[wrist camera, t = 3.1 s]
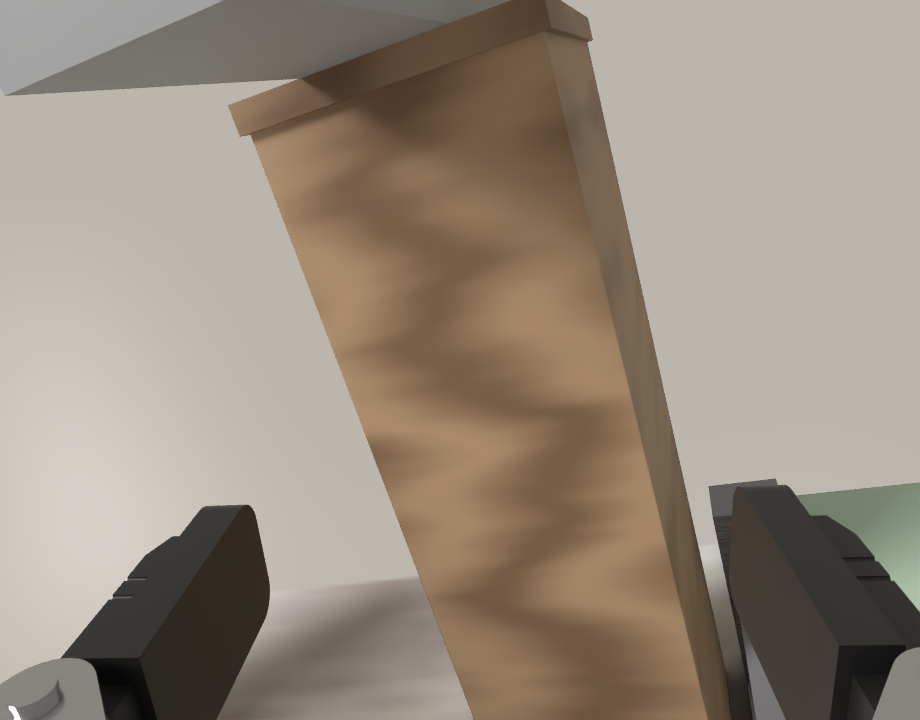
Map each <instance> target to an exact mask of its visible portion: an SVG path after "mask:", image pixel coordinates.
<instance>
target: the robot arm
mask: <svg viewBox="0 0 920 720" xmlns="http://www.w3.org/2000/svg"><path fill="white" fill-rule="evenodd" d="M729 581H730V588H731V594H732V598H733V602H734V605H735V608H736V610H737V613H738V615H739V617H740V619H741V621H742V624H743V626H744V628H745V630H746V633H747V635H748V637H749V639H750V641H751V644H752V646H753V648H754V650H755V653H756V655H757V657H758V659H759V661H760V664H761V666H762V668H763V670H764V672H765V675H766V677H767V679H768V681H769V684H770V686H771V688H772V690H773V692H774V695H775V697H776V699H777V701H778V703H779V706H780V708H781V710H782V712H783V715H784V717H785V719H786V720H920V612H919V610H918V609H917V608H916V607H915V605H914V604H913V603H912V602H911V601H910V599H909V598H908V597H907V596H906V594H905V593H904V592H903V591H902V589H901V588H900V587H899V586H898V585H897V583H896V582H895V581H891V579H890V575H889V574H888V572H887V571H886V570H885V569H884V567H883V566H882V565H881V564H880V563H879V561H875V556H874V555H873V554H872V553H871V551H870V550H869V549H868V548H867V547H866V545H865V544H864V543H863V542H862V540H861V539H860V538H859V537H858V536H857V534H855V533H854V532H852V531H851V530H849V529H848V528H846V527H844V526H843V525H841V524H840V523H838V522H836V521H835V520H833V519H832V518H830V517H829V516H827V515H817V516H811V515H810V514H809V513H808V511H807V510H806V509H805V507H804V506H803V505H802V503H801V502H800V501H799V499H798V498H797V496H796V495H795V494H794V492H793V491H792V490H791V489H790V487H788V486H787V485H767V486H739V487H737V488H736V489H735V492H734V495H733V505H732V522H731V540H730V557H729ZM269 599H270V584H269V577H268V573H267V568H266V563H265V558H264V553H263V549H262V544H261V539H260V534H259V529H258V524H257V520H256V516H255V513H254V511H253V509H252V508H251V507H250V506H249V505H227V506H205V507H203V508H202V509H201V510H200V511H199V512H198V513H197V515H196V516H195V517H194V518H193V520H192V521H191V522H190V524H189V525H188V526H187V527H186V529H185V530H184V531H183V533H182V534H181V535H180V536H175V537H171V538H170V539H168V540H167V541H165V542H164V543H162V544H161V545H160V546H158V547H157V548H155V549H154V550H152V551H151V552H150V553H148V554H147V555H145V557H144V558H143V559H142V560H141V561H140V563H139V564H138V565H137V566H136V567H135V569H134V570H133V571H132V572H131V573H130V575H129V576H128V580H127V581H124V582H123V583H122V584H121V586H120V587H119V588H118V589H117V591H116V592H115V593H114V594H113V599H112V600H108V601H107V603H106V604H105V605H104V606H103V607H102V609H101V610H100V611H99V612H98V614H97V615H96V616H95V617H94V618H93V620H92V621H91V622H90V623H89V624H88V626H87V627H86V628H85V629H84V630H83V632H82V633H81V634H80V635H79V637H78V638H77V639H76V640H75V642H74V643H73V644H72V645H71V646H70V648H69V649H68V650H67V651H66V652H65V654H64V655H63V656H62V657H61V658H60V659H56V660H51V661H48V662H43V663H41V664H38V665H35V666H32V667H30V668H28V669H26V670H24V671H21V672H20V673H18V674H16V675H14V676H12V677H11V678H9V679H8V680H6V681H5V682H3V683H2V684H1V685H0V720H216V719H217V717H218V715H219V713H220V711H221V709H222V707H223V705H224V703H225V701H226V699H227V696H228V694H229V692H230V690H231V688H232V686H233V684H234V682H235V680H236V678H237V676H238V674H239V672H240V670H241V668H242V666H243V663H244V661H245V659H246V657H247V655H248V653H249V651H250V649H251V647H252V645H253V643H254V641H255V639H256V637H257V635H258V633H259V631H260V628H261V626H262V624H263V622H264V620H265V618H266V615H267V611H268V606H269Z"/></svg>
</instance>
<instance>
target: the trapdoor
mask: <svg viewBox="0 0 920 720" xmlns="http://www.w3.org/2000/svg"><path fill="white" fill-rule="evenodd" d="M797 498H798V499H799V501H800V502H801V503H802V505H803V506H804V507H805V509H806V510H807V511H808V513H809V514H810V515H811V516H817V515H827V516H829V517H830V518H832V519H833V520H835V521H836V522H838V523H840V524H841V525H843V526H844V527H846V528H848V529H849V530H851V531H852V532H854V533H855V534H857V536H858V537H859V538H860V539H861V540H862V542H863V543H864V544H865V545H866V547H867V548H868V549H869V550H870V551H871V553H872V554H873V555H874V556H875V561H879V563H880V564H881V565H882V566H883V567H884V569H885V570H886V571H887V572H888V574H889V575H890V579H891V581H895V582H896V583H897V585H898V586H899V587H900V588H901V589H902V591H903V592H904V593H905V594H906V596H907V597H908V598H909V599H910V601H911V602H912V603H913V604H914V605H915V607H916V608H917V609H918V610H919V612H920V483H912V484H902V485H893V486H883V487H875V488H864V489H855V490H846V491H836V492H826V493H817V494H808V495H798V496H797ZM740 621H741V619H740ZM741 627H742V634H743V640H744V646H745V652H746V659H747V665H748V671H749V677H750V684H751V690H752V696H753V702H754V708H755V715H756V720H786V719H785V717H784V715H783V712H782V710H781V708H780V706H779V703H778V701H777V699H776V697H775V695H774V692H773V690H772V688H771V686H770V684H769V681H768V679H767V677H766V675H765V672H764V670H763V668H762V666H761V664H760V661H759V659H758V657H757V655H756V653H755V650H754V648H753V646H752V644H751V641H750V639H749V637H748V635H747V633H746V630H745V628H744V626H743V624H742V621H741Z"/></svg>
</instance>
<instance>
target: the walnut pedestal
mask: <svg viewBox="0 0 920 720" xmlns="http://www.w3.org/2000/svg"><path fill="white" fill-rule="evenodd" d="M592 40H593V39H592V35H591V30H590V25H589V21H588V18H587V17H586V16H584V15H582V14H581V13H580V12H578V11H576V10H575V9H573V8H572V7H570V6H568V5H567V4H565V3H564V2H562V1H561V0H510V1H507V2H505V3H502V4H499V5H497V6H494V7H491V8H488V9H486V10H483V11H480V12H478V13H475V14H472V15H470V16H467V17H464V18H462V19H459V20H456V21H454V22H451V23H448V24H446V25H443V26H440V27H437V28H435V29H432V30H429V31H427V32H424V33H421V34H419V35H416V36H413V37H411V38H408V39H405V40H402V41H400V42H397V43H394V44H392V45H389V46H386V47H384V48H381V49H378V50H376V51H373V52H370V53H368V54H365V55H362V56H359V57H357V58H354V59H351V60H349V61H346V62H343V63H341V64H338V65H335V66H333V67H330V68H327V69H325V70H322V71H319V72H316V73H314V74H311V75H308V76H306V77H303V78H300V79H298V80H295V81H292V82H290V83H287V84H284V85H281V86H279V87H276V88H273V89H271V90H268V91H265V92H263V93H260V94H258V95H255V96H252V97H249V98H247V99H244V100H241V101H239V102H236V103H233V104H230V105H228V107H229V109H230V112H231V115H232V117H233V120H234V122H235V125H236V128H237V130H238V132H239V135H240V137H241V136H246V135H251V137H252V140H253V142H254V145H255V147H256V150H257V153H258V155H259V158H260V160H261V163H262V166H263V168H264V171H265V173H266V176H267V179H268V181H269V184H270V187H271V189H272V192H273V194H274V197H275V200H276V202H277V205H278V207H279V210H280V213H281V215H282V218H283V221H284V223H285V226H286V228H287V231H288V234H289V236H290V239H291V242H292V244H293V247H294V249H295V252H296V255H297V257H298V260H299V262H300V265H301V268H302V270H303V273H304V275H305V278H306V281H307V283H308V286H309V288H310V291H311V294H312V296H313V299H314V301H315V304H316V307H317V310H318V312H319V315H320V317H321V320H322V323H323V325H324V328H325V331H326V333H327V336H328V338H329V341H330V343H331V346H332V348H333V351H334V354H335V357H336V359H337V362H338V365H339V367H340V370H341V372H342V375H343V378H344V380H345V382H346V385H347V388H348V391H349V393H350V396H351V399H352V401H353V404H354V406H355V409H356V412H357V414H358V416H359V419H360V422H361V425H362V427H363V430H364V433H365V435H366V438H367V440H368V443H369V445H370V448H371V451H372V453H373V456H374V459H375V461H376V464H377V467H378V469H379V472H380V474H381V477H382V479H383V482H384V485H385V487H386V490H387V492H388V495H389V498H390V500H391V503H392V506H393V508H394V511H395V514H396V516H397V519H398V521H399V524H400V527H401V529H402V532H403V535H404V537H405V540H406V542H407V545H408V547H409V550H410V553H411V555H412V558H413V561H414V563H415V566H416V569H417V571H418V573H419V576H420V579H421V582H422V584H423V587H424V589H425V592H426V595H427V597H428V600H429V603H430V605H431V608H432V610H433V613H434V616H435V618H436V621H437V623H438V626H439V629H440V631H441V634H442V637H443V639H444V642H445V644H446V647H447V650H448V652H449V655H450V658H451V660H452V663H453V665H454V668H455V671H456V673H457V676H458V678H459V681H460V684H461V686H462V689H463V692H464V694H465V697H466V699H467V702H468V705H469V707H470V710H471V712H472V715H473V718H474V720H731V711H730V703H729V695H728V687H727V679H726V671H725V666H724V661H723V657H722V652H721V648H720V643H719V638H718V634H717V629H716V625H715V620H714V616H713V611H712V607H711V602H710V598H709V593H708V588H707V584H706V579H705V575H704V570H703V566H702V561H701V557H700V552H699V548H698V543H697V538H696V534H695V529H694V525H693V520H692V516H691V512H690V507H689V502H688V498H687V493H686V489H685V484H684V480H683V475H682V470H681V466H680V461H679V457H678V453H677V448H676V444H675V439H674V434H673V430H672V425H671V420H670V416H669V411H668V407H667V402H666V398H665V394H664V389H663V384H662V380H661V375H660V370H659V367H658V361H657V357H656V352H655V348H654V343H653V339H652V334H651V330H650V325H649V320H648V316H647V312H646V307H645V302H644V298H643V294H642V289H641V284H640V280H639V275H638V270H637V266H636V262H635V257H634V253H633V248H632V243H631V239H630V234H629V230H628V225H627V221H626V216H625V211H624V207H623V202H622V198H621V193H620V189H619V184H618V180H617V175H616V171H615V167H614V161H613V157H612V153H611V148H610V143H609V139H608V134H607V130H606V126H605V121H604V116H603V112H602V107H601V102H600V98H599V93H598V89H597V84H596V80H595V75H594V71H593V67H592V62H591V57H590V52H589V48H588V43H587V42H589V41H592Z"/></svg>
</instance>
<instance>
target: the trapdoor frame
mask: <svg viewBox="0 0 920 720" xmlns="http://www.w3.org/2000/svg"><path fill="white" fill-rule="evenodd" d="M767 485H777V481H776V479H768V480H760V481H751V482H742V483H734V484H725V485H716V486H709V493H710V500H711V507H712V515H713V520H714V525H715V530H716V535H717V539H718V544H719V549H720V554H721V559H722V563H723V568H724V573H725V578H726V583H727V587H728V592H729V597H730V602H731V607H732V611H733V616H734V621H735V626H736V631H737V635H738V640H739V645H740V650H741V655H742V659H743V664H744V669H745V674H746V679H747V684H748V691H749V697H750V704H751V710H752V716H753V720H756V715H755V708H754V702H753V696H752V690H751V684H750V677H749V671H748V665H747V659H746V652H745V646H744V640H743V634H742V627H741V621H740V617H739V615H738V613H737V610H736V608H735V605H734V602H733V598H732V594H731V588H730V581H729V557H730V540H731V522H732V505H733V495H734V492H735V489H736V488H737V487H739V486H767Z"/></svg>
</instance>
